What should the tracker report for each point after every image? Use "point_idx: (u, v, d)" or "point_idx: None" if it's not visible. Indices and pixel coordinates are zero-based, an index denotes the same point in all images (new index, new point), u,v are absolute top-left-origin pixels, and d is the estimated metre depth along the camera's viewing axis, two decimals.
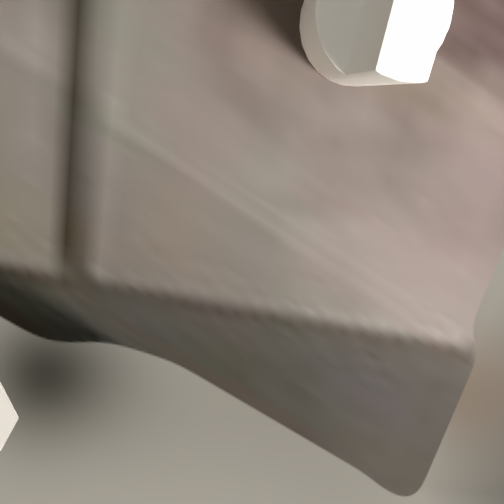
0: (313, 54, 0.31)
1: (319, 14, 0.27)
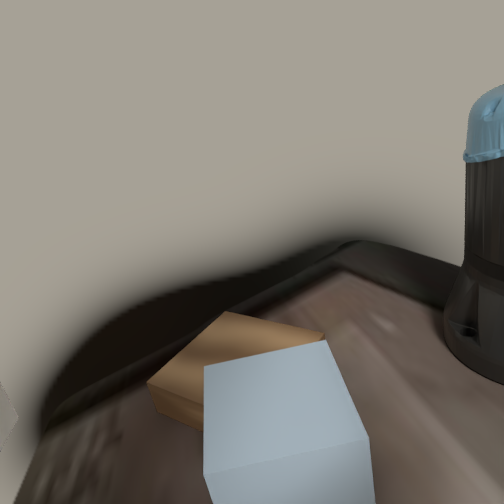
0: None
1: None
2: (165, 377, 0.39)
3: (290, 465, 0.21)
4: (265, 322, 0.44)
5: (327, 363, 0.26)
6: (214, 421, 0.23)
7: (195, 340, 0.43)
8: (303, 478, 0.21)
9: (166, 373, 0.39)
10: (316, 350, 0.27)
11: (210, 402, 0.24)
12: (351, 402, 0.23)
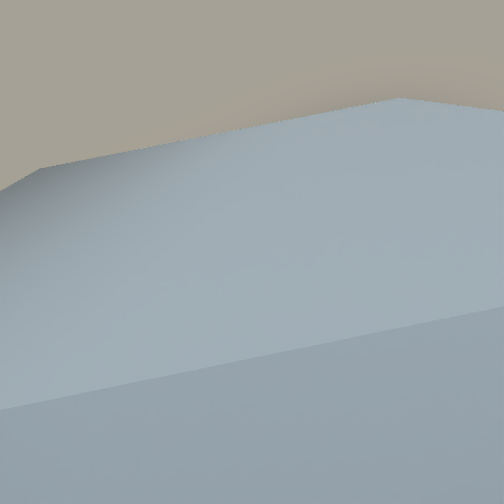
0: None
1: None
2: None
3: (301, 454, 0.02)
4: None
5: (426, 110, 0.07)
6: None
7: None
8: None
9: None
10: (378, 107, 0.09)
11: None
12: None
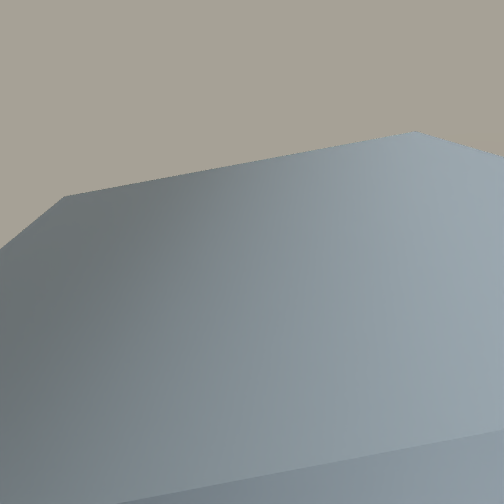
0: None
1: None
2: None
3: None
4: None
5: (443, 153, 0.08)
6: None
7: None
8: None
9: None
10: (395, 143, 0.09)
11: (17, 250, 0.07)
12: None
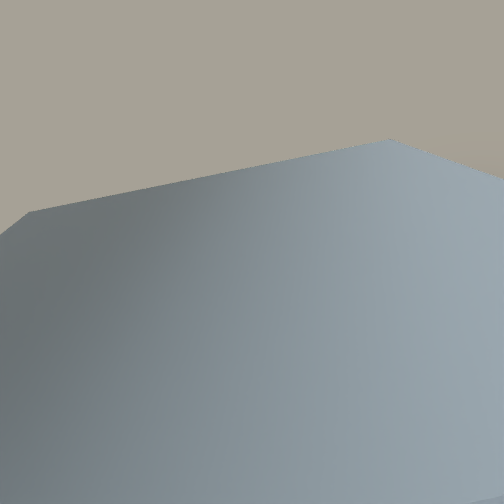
0: None
1: None
2: None
3: None
4: None
5: (414, 163, 0.07)
6: None
7: None
8: None
9: None
10: (368, 153, 0.09)
11: None
12: None
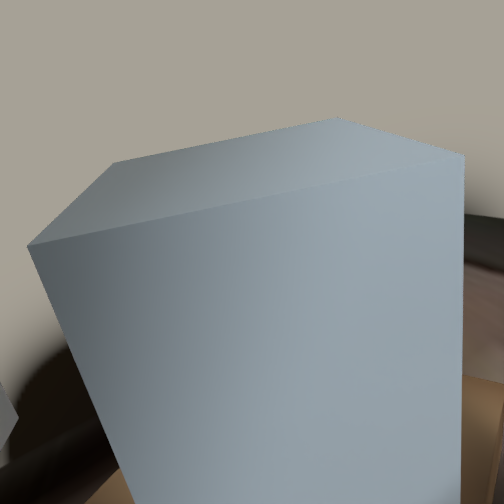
0: None
1: None
2: (122, 500, 0.15)
3: (259, 233, 0.08)
4: None
5: (342, 127, 0.13)
6: (99, 194, 0.10)
7: None
8: (295, 276, 0.08)
9: (127, 486, 0.16)
10: (321, 124, 0.14)
11: (103, 182, 0.12)
12: (403, 138, 0.10)
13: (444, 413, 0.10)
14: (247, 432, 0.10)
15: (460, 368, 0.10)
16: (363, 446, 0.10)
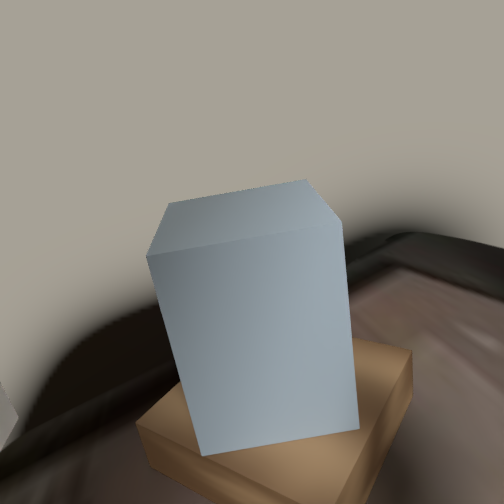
0: None
1: None
2: (165, 415, 0.25)
3: (248, 253, 0.18)
4: None
5: (304, 190, 0.23)
6: (169, 228, 0.20)
7: None
8: (265, 274, 0.18)
9: (167, 408, 0.25)
10: (294, 185, 0.24)
11: (168, 219, 0.22)
12: (326, 206, 0.19)
13: (343, 348, 0.20)
14: (240, 352, 0.19)
15: (349, 323, 0.19)
16: (301, 363, 0.20)
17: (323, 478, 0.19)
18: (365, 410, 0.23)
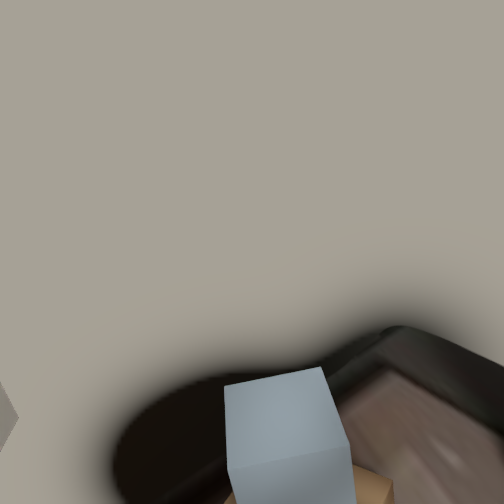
0: None
1: None
2: None
3: (291, 464, 0.28)
4: None
5: (321, 386, 0.33)
6: (234, 430, 0.30)
7: None
8: (301, 474, 0.28)
9: None
10: (313, 375, 0.34)
11: (230, 415, 0.32)
12: (338, 417, 0.30)
13: None
14: None
15: (355, 496, 0.29)
16: None
17: None
18: None
